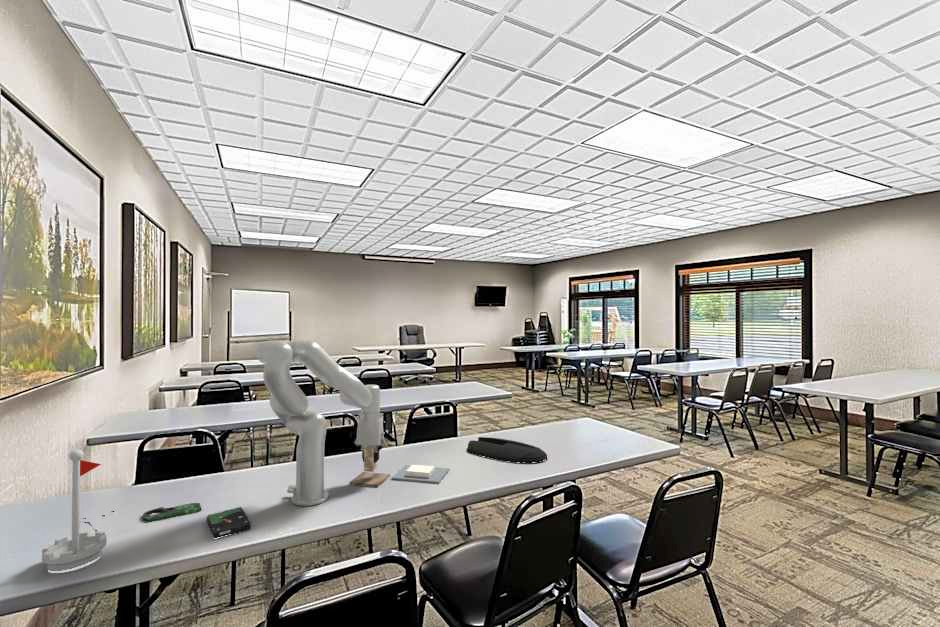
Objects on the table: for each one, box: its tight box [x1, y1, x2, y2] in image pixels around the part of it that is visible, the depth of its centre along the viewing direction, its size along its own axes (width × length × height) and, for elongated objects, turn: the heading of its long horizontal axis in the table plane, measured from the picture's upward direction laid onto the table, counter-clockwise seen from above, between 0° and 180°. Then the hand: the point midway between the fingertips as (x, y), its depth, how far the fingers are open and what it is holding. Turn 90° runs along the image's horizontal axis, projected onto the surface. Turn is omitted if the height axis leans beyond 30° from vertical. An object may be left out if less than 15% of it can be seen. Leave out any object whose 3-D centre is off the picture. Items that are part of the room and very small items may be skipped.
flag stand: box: [41, 449, 108, 571], centre depth 120 cm, size 13×13×30 cm
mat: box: [391, 464, 451, 485], centre depth 187 cm, size 20×16×1 cm
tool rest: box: [348, 471, 391, 488], centre depth 180 cm, size 12×12×1 cm
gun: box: [141, 502, 202, 523], centre depth 150 cm, size 16×2×10 cm
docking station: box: [467, 436, 548, 463], centre depth 217 cm, size 25×40×5 cm, turn 54°
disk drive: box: [206, 506, 252, 539], centre depth 141 cm, size 10×3×15 cm
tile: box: [406, 464, 436, 478], centre depth 185 cm, size 10×2×8 cm
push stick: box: [363, 445, 378, 473], centre depth 180 cm, size 4×4×11 cm
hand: (370, 460), depth 180 cm, fingers closed on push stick, 4 cm apart
